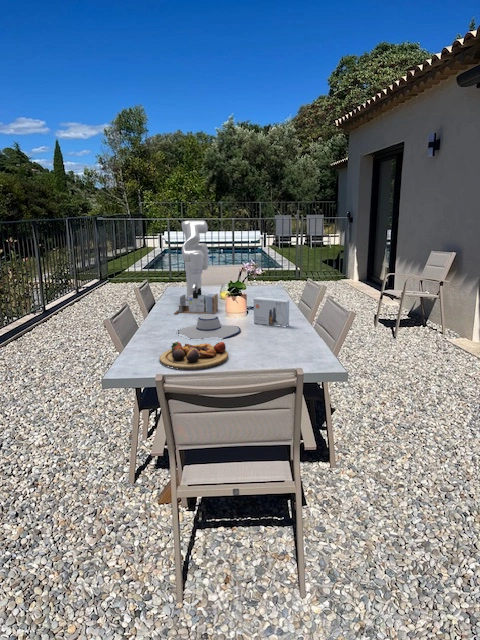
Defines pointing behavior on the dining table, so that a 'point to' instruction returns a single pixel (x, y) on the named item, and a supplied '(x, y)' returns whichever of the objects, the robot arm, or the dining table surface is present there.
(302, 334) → the dining table surface
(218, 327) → the sun hat
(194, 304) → the light bulb box
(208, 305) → the book
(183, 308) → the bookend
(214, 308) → the shelf
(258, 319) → the skincare box
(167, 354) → the wooden plate with food
